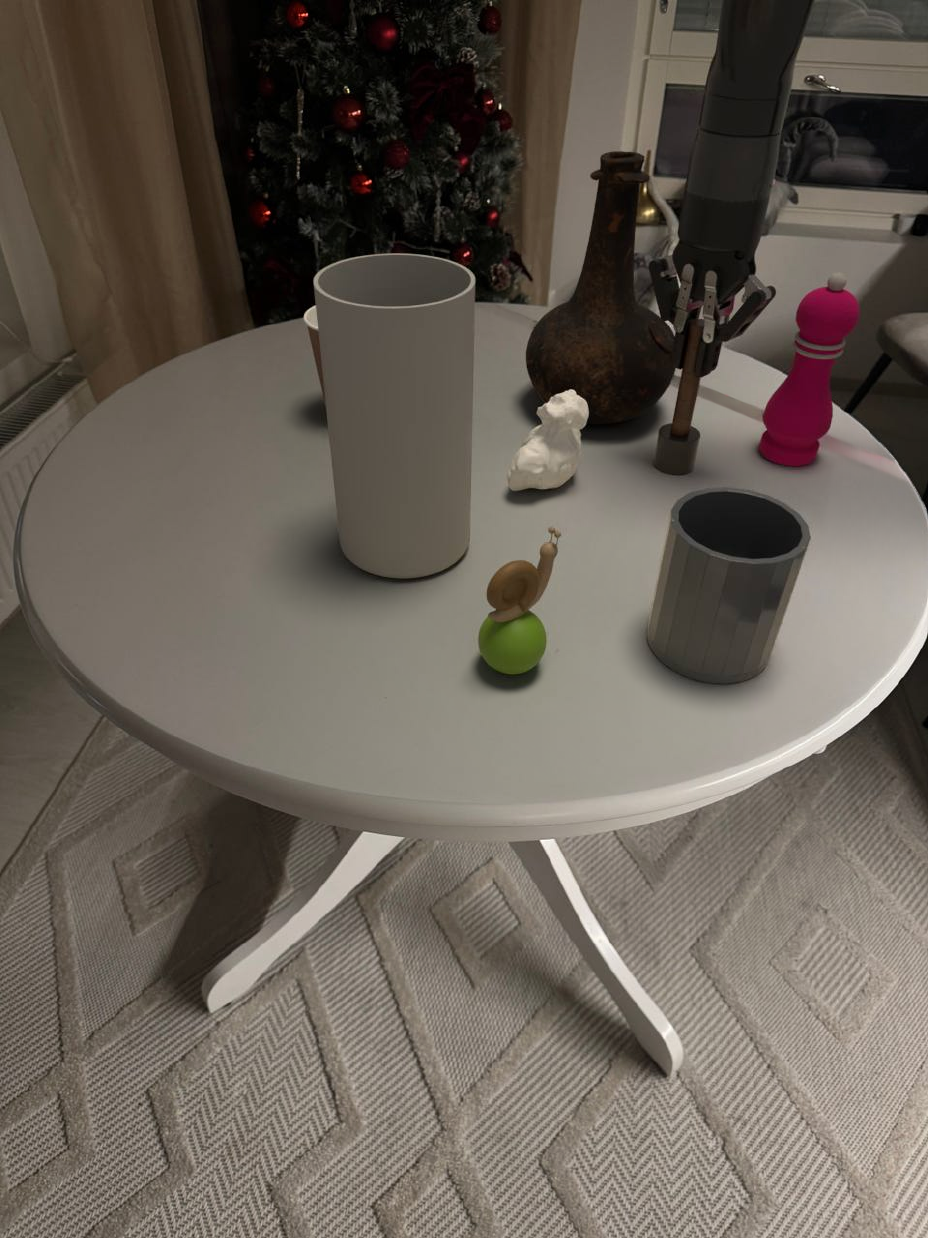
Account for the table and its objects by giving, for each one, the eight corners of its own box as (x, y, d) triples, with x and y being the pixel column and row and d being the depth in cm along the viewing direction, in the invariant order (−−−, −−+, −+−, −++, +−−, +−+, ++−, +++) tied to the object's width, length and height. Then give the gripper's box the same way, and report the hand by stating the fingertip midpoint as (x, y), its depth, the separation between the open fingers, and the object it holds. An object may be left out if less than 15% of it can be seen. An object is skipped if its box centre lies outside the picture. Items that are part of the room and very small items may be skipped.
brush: (669, 450, 96) (696, 310, 86) (701, 465, 94) (733, 323, 83) (645, 463, 94) (670, 321, 84) (677, 479, 91) (707, 334, 81)
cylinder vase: (496, 544, 82) (508, 280, 65) (398, 600, 75) (385, 321, 59) (410, 494, 88) (402, 243, 72) (314, 541, 82) (281, 276, 65)
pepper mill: (811, 475, 92) (871, 290, 80) (746, 458, 95) (793, 276, 82) (825, 447, 97) (884, 269, 84) (763, 432, 100) (810, 256, 87)
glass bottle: (632, 457, 95) (677, 185, 77) (495, 416, 102) (506, 158, 84) (688, 398, 107) (738, 150, 88) (561, 365, 114) (584, 129, 96)
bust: (520, 523, 88) (589, 466, 80) (472, 468, 88) (536, 405, 79) (570, 473, 96) (638, 417, 88) (526, 423, 96) (590, 361, 87)
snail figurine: (566, 666, 69) (582, 545, 61) (504, 698, 66) (512, 575, 58) (525, 630, 72) (534, 511, 64) (464, 659, 69) (466, 538, 61)
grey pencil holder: (693, 589, 77) (721, 473, 69) (793, 645, 71) (836, 526, 63) (622, 638, 71) (643, 519, 64) (723, 703, 66) (761, 581, 58)
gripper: (819, 194, 74) (770, 382, 85) (689, 165, 81) (660, 341, 93) (773, 209, 70) (727, 404, 81) (640, 177, 77) (616, 359, 89)
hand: (691, 369), depth 87 cm, fingers closed on brush, 2 cm apart
